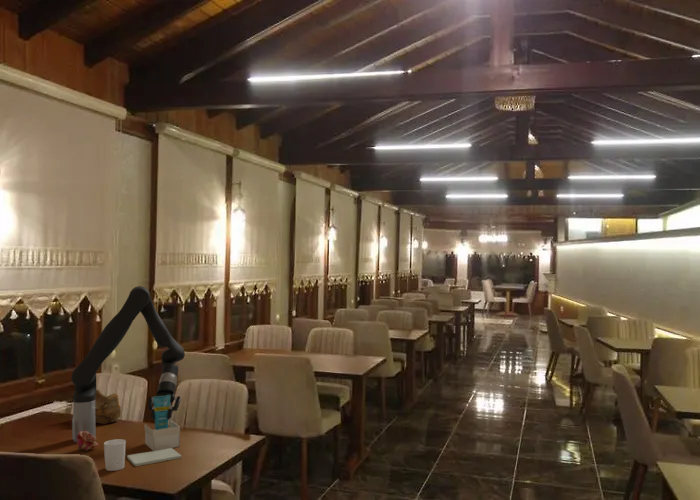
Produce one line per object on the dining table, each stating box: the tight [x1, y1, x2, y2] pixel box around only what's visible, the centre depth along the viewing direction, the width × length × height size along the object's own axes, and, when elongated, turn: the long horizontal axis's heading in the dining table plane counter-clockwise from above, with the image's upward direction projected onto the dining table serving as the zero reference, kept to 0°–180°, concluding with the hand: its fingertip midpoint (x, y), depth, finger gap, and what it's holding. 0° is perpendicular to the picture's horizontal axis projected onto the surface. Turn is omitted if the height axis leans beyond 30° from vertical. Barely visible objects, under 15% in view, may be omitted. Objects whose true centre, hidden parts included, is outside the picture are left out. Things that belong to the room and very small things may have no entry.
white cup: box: [103, 438, 127, 472], centre depth 242 cm, size 8×8×10 cm
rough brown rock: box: [95, 388, 122, 425], centre depth 314 cm, size 23×17×15 cm
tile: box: [126, 448, 182, 467], centre depth 254 cm, size 18×13×1 cm
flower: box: [76, 431, 99, 452], centre depth 267 cm, size 10×9×8 cm
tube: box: [152, 395, 171, 430], centre depth 273 cm, size 7×5×19 cm, turn 124°
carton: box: [144, 419, 181, 451], centre depth 272 cm, size 12×14×8 cm
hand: (160, 418), depth 271 cm, fingers closed on tube, 5 cm apart
